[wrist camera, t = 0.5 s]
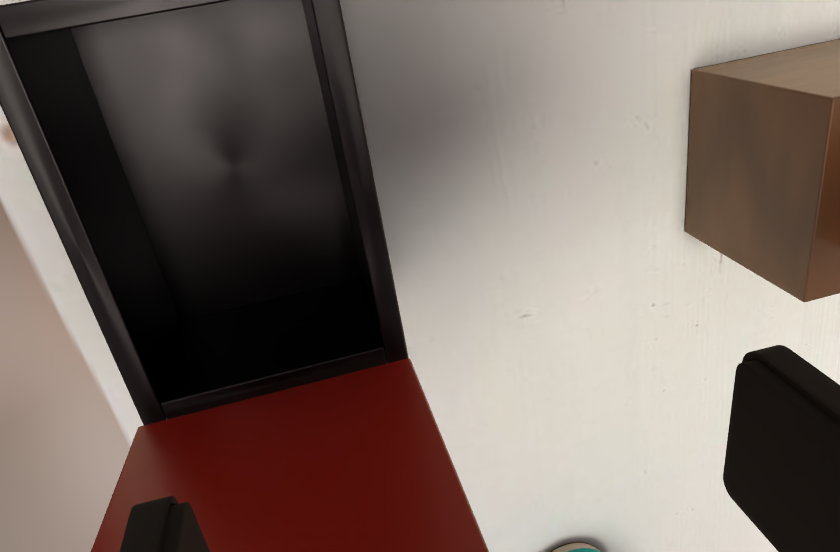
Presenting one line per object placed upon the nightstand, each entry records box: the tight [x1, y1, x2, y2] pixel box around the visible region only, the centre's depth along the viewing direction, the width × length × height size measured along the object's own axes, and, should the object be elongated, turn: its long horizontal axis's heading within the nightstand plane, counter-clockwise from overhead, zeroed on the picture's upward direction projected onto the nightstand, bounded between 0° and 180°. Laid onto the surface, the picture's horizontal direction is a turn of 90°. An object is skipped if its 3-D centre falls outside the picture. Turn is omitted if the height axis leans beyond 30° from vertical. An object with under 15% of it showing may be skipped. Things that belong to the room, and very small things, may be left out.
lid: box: [91, 358, 489, 552], centre depth 16 cm, size 14×10×1 cm
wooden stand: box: [685, 39, 840, 302], centre depth 27 cm, size 8×8×8 cm
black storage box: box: [0, 0, 408, 425], centre depth 23 cm, size 14×10×7 cm
